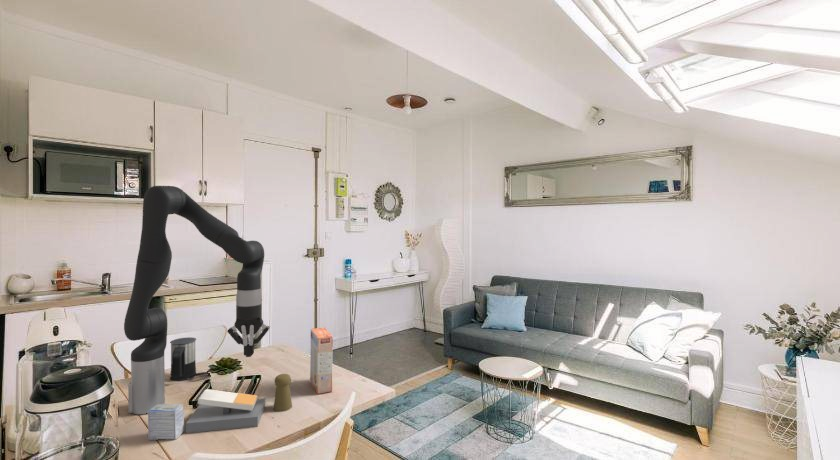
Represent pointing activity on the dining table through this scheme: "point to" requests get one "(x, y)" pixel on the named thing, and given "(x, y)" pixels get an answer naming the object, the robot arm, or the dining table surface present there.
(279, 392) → the olive green pawn
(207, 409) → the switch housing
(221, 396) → the rocker switch
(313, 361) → the cracker box
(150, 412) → the medicine box
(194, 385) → the dining table surface
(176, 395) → the dining table surface
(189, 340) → the milk frother
